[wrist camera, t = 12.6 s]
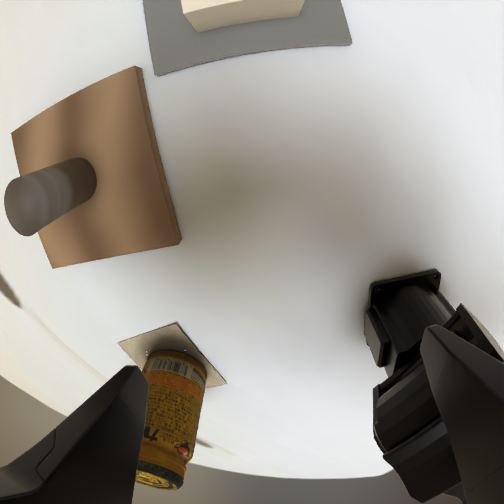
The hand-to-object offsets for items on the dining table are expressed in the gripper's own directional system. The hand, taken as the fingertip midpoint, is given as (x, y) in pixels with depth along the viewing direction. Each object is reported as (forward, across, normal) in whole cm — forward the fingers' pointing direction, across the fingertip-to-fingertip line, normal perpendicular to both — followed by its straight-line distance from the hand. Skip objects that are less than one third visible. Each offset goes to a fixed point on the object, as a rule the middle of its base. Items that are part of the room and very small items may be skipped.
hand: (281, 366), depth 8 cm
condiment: (+12, +11, +12) cm, 20 cm away
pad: (+12, -1, -16) cm, 20 cm away
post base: (+12, +12, -6) cm, 18 cm away
